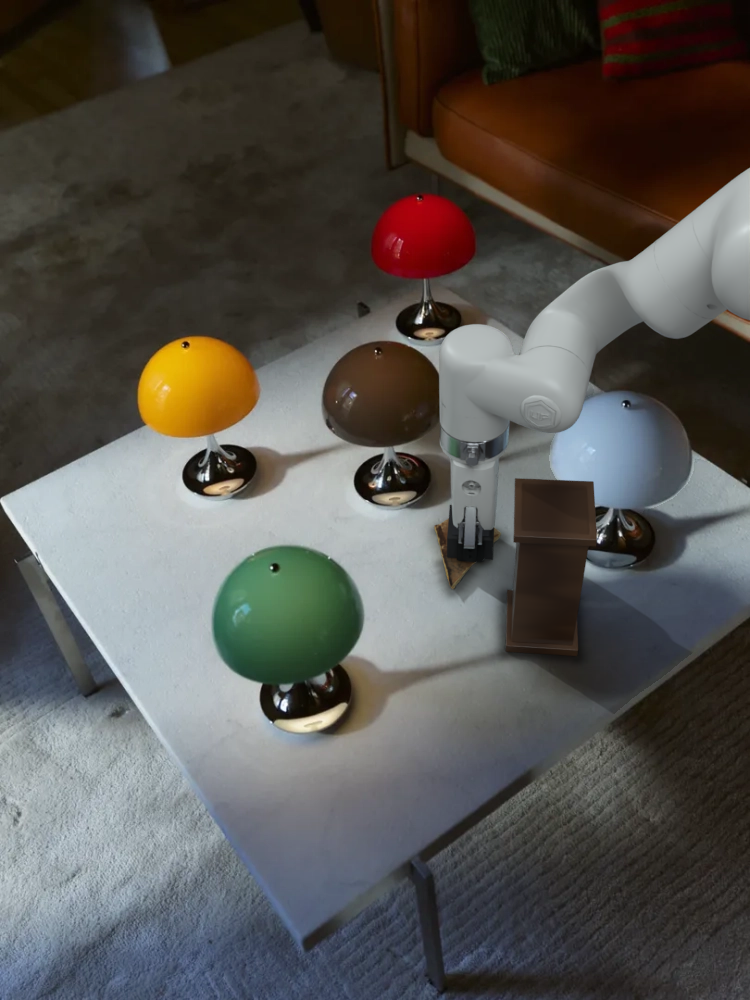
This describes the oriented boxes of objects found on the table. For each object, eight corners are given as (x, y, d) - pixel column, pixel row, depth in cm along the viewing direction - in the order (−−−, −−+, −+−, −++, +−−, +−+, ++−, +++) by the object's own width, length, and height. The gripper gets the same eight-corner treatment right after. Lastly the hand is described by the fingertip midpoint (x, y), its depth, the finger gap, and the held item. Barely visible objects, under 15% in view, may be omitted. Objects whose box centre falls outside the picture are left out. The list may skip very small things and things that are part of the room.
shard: (451, 594, 113) (451, 585, 112) (401, 564, 117) (401, 554, 115) (503, 539, 118) (504, 530, 117) (454, 512, 122) (454, 503, 121)
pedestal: (575, 599, 112) (593, 481, 97) (577, 656, 106) (597, 540, 92) (506, 595, 112) (515, 477, 98) (505, 651, 107) (513, 536, 93)
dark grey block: (494, 526, 118) (495, 505, 115) (492, 560, 114) (493, 540, 111) (449, 524, 118) (449, 503, 116) (446, 557, 115) (446, 537, 112)
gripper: (507, 489, 96) (500, 597, 110) (510, 381, 108) (503, 491, 121) (434, 486, 97) (435, 594, 110) (444, 379, 109) (445, 488, 122)
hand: (471, 539), depth 116 cm, fingers closed on dark grey block, 5 cm apart
